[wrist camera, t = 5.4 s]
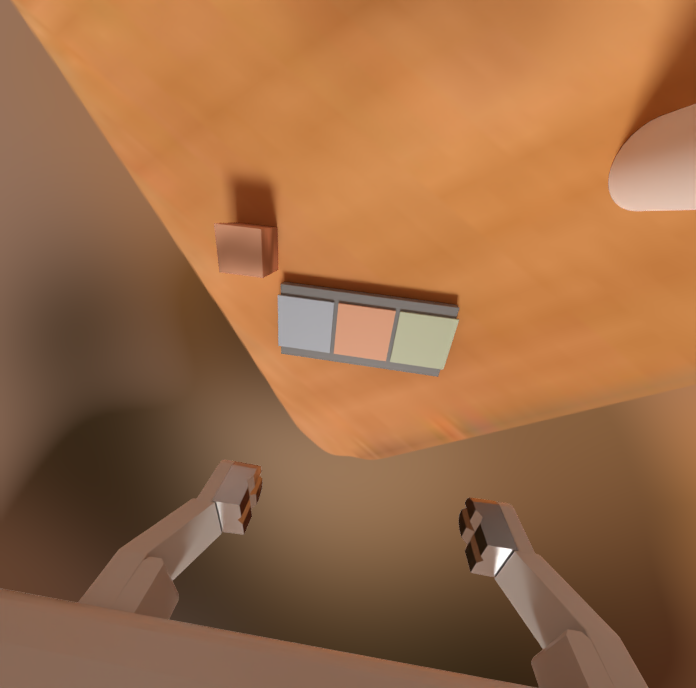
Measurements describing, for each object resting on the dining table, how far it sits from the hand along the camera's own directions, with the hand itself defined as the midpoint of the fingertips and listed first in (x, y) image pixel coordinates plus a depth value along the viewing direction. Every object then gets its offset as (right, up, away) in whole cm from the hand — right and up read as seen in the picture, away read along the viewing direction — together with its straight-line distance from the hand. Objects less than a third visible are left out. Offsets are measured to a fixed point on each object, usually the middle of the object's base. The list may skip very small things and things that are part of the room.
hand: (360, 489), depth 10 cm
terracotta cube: (-11, +17, +19) cm, 27 cm away
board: (+1, +8, +22) cm, 23 cm away
